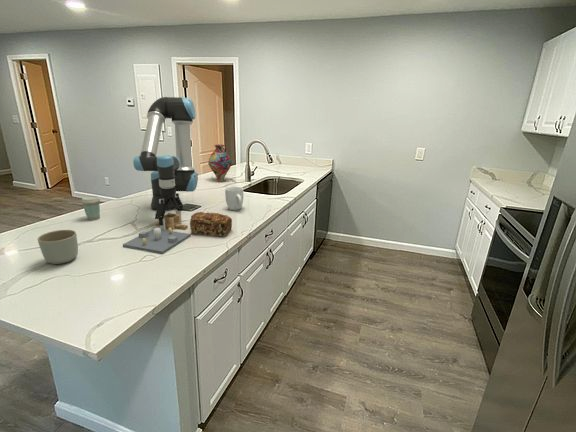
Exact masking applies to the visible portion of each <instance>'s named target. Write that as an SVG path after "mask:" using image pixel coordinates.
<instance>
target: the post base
mask: <svg viewBox="0 0 576 432" xmlns="http://www.w3.org/2000/svg"><path fill="white" fill-rule="evenodd" d="M189 238H191V233H186V232H180V231H174V230H171V228H169V229H166V230H162V229H161V228H160V227H155V228H152V229H150V230H148V231H146V230H145V231H144V230H143V231H141V232H138V236H137V237H134V238H133V239H131V240H128V241H126V242H125V243H122V247H123V248H128V249H133V250H139V251H144V252H150V253H154V254H155V253H156V254H161V255H164V254H166V253H167V252H168V251H170V250H171V249H173V248H175V247H177V246H178V245H180V244H181V243H182V242H184V241H185V240H187V239H189Z"/></svg>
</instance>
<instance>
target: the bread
mask: <svg viewBox="0 0 576 432" xmlns="http://www.w3.org/2000/svg"><path fill="white" fill-rule="evenodd" d="M232 226H233V219H232V217H230V216H229V215H226V214H223V213H218V212H217V213H216V212H203V211H200V212H199V211H197V212H195V213H194V214H192V215H191V216H190V220H189V227H190V228H189V229H190V232H191V233H192V234H197V235H202V236H213V237H226V236H228V234H229V233H231V231H232Z"/></svg>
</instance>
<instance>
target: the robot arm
mask: <svg viewBox="0 0 576 432" xmlns="http://www.w3.org/2000/svg"><path fill="white" fill-rule="evenodd" d="M196 114H197V113H196V109H195V105H194V102H193V100H192V98H189V97H183V96H182V97H180V96H179V97H172V96H171V97H170V96H162V97H159V98H157V99H156V100H155V101H154V102H153V103H152V104H151V105H150V106H149V109H148V110H147V114H146V118H147V124H146V128H145V132H144V137H143V142H142V146H141V151H140V155H138V156H137V155H135V157H134V158H133V161H132V162H133V163H132V164H133V168H134V169H135V170H136V171H138V172H140V171H141V172H151V173H150V182H151V190H152V191H151V193H152V198H151V203H150V209H151V210H152V211H155V215H154V216H155V217H154V219H155V220H157V221H159V225H160V226H159V228H161V229H162V230H167V229H166V228H165V219H163V218H164V215H166V212H167V211H173V210H175V214H179V215H180V217H181V218H182V211H183V210H184V205H183V203H182V200H181V197H180V194H179V193H178V192H186V193H188V192H189V193H190V192H194V191H195V190H196V189H197V187H198V181H199V176H198V172H196V170H195V168H194V167H193V164H192V163H193V162H192V161H193V160H192V142H191V141H192V139H191V125H192V124H193V122H194V121H193V120H195V119H196ZM166 119H171V123H172V124H173V125H174V133H175V134H174V136H175V137H174V138H175V155H176V156H175V155H169V154H168V155H167V154H165V155H162V154H161V155H158V156H157V152H158V148H159V144H160V138H161V134H162V133H161V132H162V129H163V128H162V127H163V124H164V123H165V121H166ZM182 223H183V221H182V219H181V224H182Z"/></svg>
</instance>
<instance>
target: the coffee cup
mask: <svg viewBox="0 0 576 432" xmlns="http://www.w3.org/2000/svg"><path fill="white" fill-rule="evenodd" d="M100 200H101V199H100V198H99V197H98V196H97V195H87V196H84V197H82V198H81V204H82V206H83V210H84V212H85V216H86V219H87V220H88V221H97V220H99V219H100V218H101V213H100V212H101V210H100V209H101V208H100Z"/></svg>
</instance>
